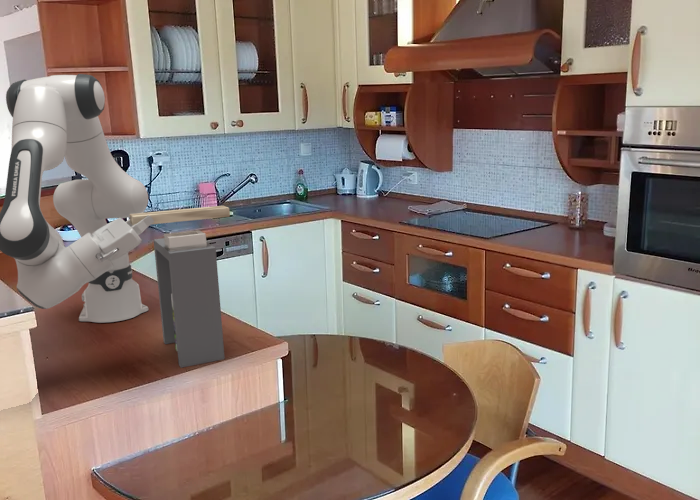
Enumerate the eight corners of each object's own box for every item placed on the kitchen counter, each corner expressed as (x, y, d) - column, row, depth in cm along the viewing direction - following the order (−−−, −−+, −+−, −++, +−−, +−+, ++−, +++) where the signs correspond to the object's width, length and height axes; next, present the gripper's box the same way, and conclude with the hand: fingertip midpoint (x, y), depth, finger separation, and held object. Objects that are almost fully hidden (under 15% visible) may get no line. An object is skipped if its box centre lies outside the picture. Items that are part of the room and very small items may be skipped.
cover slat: (130, 223, 146) (129, 214, 146) (224, 214, 155) (223, 205, 154) (133, 226, 142) (132, 216, 141) (229, 216, 150) (229, 207, 150)
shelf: (163, 341, 165) (153, 239, 160) (203, 334, 170) (194, 234, 164) (180, 367, 148) (169, 253, 143) (224, 359, 152) (215, 247, 147)
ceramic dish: (165, 247, 150) (163, 234, 149) (200, 242, 153) (199, 230, 153) (170, 251, 145) (169, 238, 144) (206, 247, 148) (205, 233, 147)
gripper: (89, 250, 131) (148, 209, 135) (81, 235, 149) (133, 200, 153) (109, 274, 133) (166, 234, 137) (99, 257, 152) (150, 222, 155)
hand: (149, 216), depth 145 cm, fingers closed on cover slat, 5 cm apart
